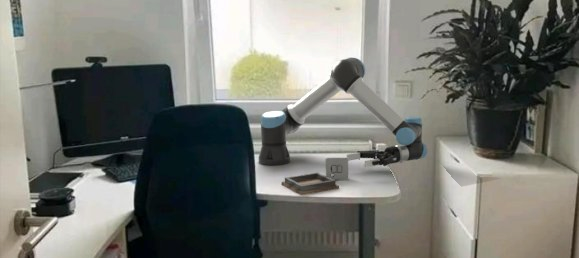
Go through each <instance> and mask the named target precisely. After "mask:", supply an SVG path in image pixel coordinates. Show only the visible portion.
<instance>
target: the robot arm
mask: <svg viewBox="0 0 579 258" xmlns="http://www.w3.org/2000/svg"><path fill="white" fill-rule="evenodd" d="M365 75H366V67H365V64H364V63H363V61H362V60H361V59H359V58H357V57H347V58H344V59H340V60H338V61H336V62H335V63H334V64H333V66H332V67H331V70H330V71H329V76H328V77H326V78H325V79H323V81H322V82H320V83H319V84H318V85H316V86H315V87H313V89H312V90H311V91H309V92H308V93H307V94H305V95H304V96H303V97H302V98H300V99H299V100H298V101H297V102H296V103H294V104H291V103H289V104H288V105H287V106H286V107H285V108H283V109H282V110H272V111H266V112H263V114H262V115H261V117H260V132H261V133H260V134H261V146H260V147H261V148H260V151H259V153H258V154H259V155H258V163H259V164H260V165H265V166H267V165H268V166H281V165H286V164H288V163H290V162H291V155H290V152H289V149H288V146H287V135H291V134H294V133H295V132H297V131H298V130H299V128H300V127H301V126H303V125H304V123H305V122H306V120H305V119H306V118H308V117H309V116H311V114H313V113H314V112H316V111H317V110H318V109H319V108H320V107H321V106H323V105H324V104H325V103H326V102H328V101H329V100H331V98H332V99H333V97H334V96H336V95H337V94H338V93H339V92H340V91H344V92H345V93H346V94H349V95H351V96H352V97H353V98H354V99H355V100H357V101H358V103H360V104H361V105H362V106H363V107H364V108H365V109H366V110H367V111H368V112H370V114H371V115H373V116H374V118H375V119H377V120H378V121H379V122H380V123H381V124H382V125H383V126H384V127H385V128H386V129H387V130H388V131H389V132H390V133H392V134H393V135H394V136H395V139H396V142H397V143H398V144H396V145H392V146H391V145H390V146H387V147H386V148H385V149H384V150H379V149H377V150H358V151H356V152H354V153H347V154H346V158H348V162H349V161H355V160H358V161H359V160H360V159H366V160H364V168H369V167H375V166H383V167H386V166H388V165H391V164H397V163H400V164H403V162H406V161H407V162H408V161H414V160H415V161H416V160H421V159H424V158H425V157H426V156H427V154H428V148H427V145H426V143H425V142H423V119H422V117H420V116H407V117H405V119H404V118H403V117H402V116H401V115H399V114H398V113H397V112H396V111H395V110H394V108H392V107H391V106H390V105H389V104H388V103H387V102H386V101H385V100H383V99H382V98H381V97H380V96H379V95H378V94H377V93H376V92H375V91H374V90H373V89H372V88H370V87H369V86H368V84H366V83H365V82H364V81H363V78H364V77H365Z"/></svg>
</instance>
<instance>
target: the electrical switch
mask: <svg viewBox="0 0 579 258" xmlns="http://www.w3.org/2000/svg"><path fill="white" fill-rule="evenodd" d="M325 176H327V177H329V178H331V179H333V180H336V181H348V180H349V161H348V158H347V157H326V158H325Z"/></svg>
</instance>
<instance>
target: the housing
mask: <svg viewBox="0 0 579 258" xmlns="http://www.w3.org/2000/svg"><path fill="white" fill-rule="evenodd" d="M281 185H282V186H284V187H286V188H287V189H289V190H292V191H293V192H295V193H297V194H299V195H301V196H303V195H310V194H315V193H320V192H327V191H331V190H337V189H340V185H339V184H337V180H333V179H331V178H329V177H327V176H326V175H324V174H321V173H320V172H312V173H306V174H300V175H295V176H289V177H288V176H287V177H286V176H285V177H284V181H281Z"/></svg>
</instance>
